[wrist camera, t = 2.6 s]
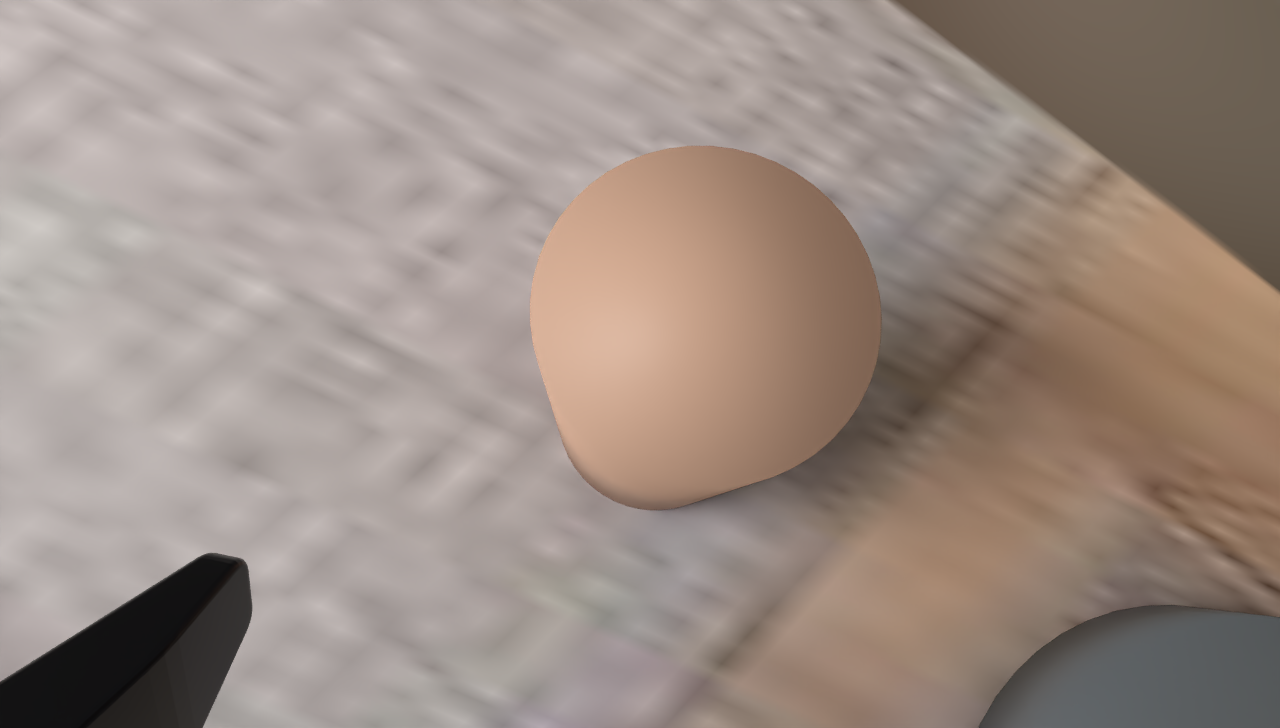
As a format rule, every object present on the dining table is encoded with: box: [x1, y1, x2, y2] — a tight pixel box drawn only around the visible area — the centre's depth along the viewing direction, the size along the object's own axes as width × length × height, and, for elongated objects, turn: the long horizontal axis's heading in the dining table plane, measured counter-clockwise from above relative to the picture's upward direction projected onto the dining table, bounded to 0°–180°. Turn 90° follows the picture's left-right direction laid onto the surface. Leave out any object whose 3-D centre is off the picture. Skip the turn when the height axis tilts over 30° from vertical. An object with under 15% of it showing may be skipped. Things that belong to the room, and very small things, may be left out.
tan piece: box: [530, 146, 882, 510], centre depth 17 cm, size 5×5×10 cm
